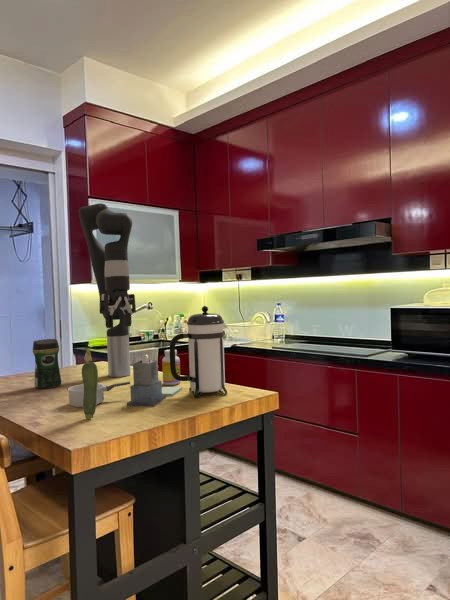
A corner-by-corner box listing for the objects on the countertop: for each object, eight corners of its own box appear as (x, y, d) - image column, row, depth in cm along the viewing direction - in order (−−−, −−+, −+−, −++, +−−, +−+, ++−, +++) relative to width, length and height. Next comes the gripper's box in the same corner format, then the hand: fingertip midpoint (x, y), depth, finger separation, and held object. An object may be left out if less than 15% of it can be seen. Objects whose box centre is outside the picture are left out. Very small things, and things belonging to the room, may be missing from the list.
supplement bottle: (173, 386, 163) (172, 351, 163) (159, 384, 167) (158, 351, 166) (183, 382, 169) (182, 349, 169) (170, 381, 172) (168, 348, 172)
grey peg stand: (140, 397, 148) (139, 353, 147) (166, 397, 146) (164, 352, 145) (126, 406, 137) (124, 358, 136) (153, 406, 135) (151, 358, 135)
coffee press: (201, 386, 161) (198, 305, 161) (238, 390, 152) (234, 304, 151) (169, 396, 147) (166, 307, 146) (207, 402, 138) (204, 307, 137)
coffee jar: (59, 383, 176) (57, 337, 176) (62, 386, 169) (60, 338, 169) (33, 386, 171) (30, 339, 171) (35, 390, 164) (33, 341, 164)
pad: (155, 388, 160) (155, 386, 160) (181, 389, 158) (181, 387, 158) (145, 395, 150) (145, 393, 150) (172, 396, 148) (172, 393, 148)
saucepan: (134, 401, 142) (134, 384, 142) (69, 411, 134) (69, 392, 134) (126, 394, 153) (126, 378, 153) (66, 402, 144) (65, 386, 144)
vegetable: (85, 416, 127) (82, 347, 126) (100, 415, 127) (98, 347, 127) (81, 421, 122) (79, 349, 122) (97, 420, 123) (94, 349, 122)
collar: (141, 381, 145) (140, 360, 145) (158, 381, 143) (157, 360, 143) (133, 385, 139) (132, 363, 139) (151, 385, 138) (150, 363, 137)
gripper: (122, 277, 146) (124, 325, 146) (91, 275, 133) (93, 328, 133) (140, 275, 143) (142, 325, 142) (110, 273, 130) (112, 328, 130)
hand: (119, 327), depth 138 cm, fingers open, 8 cm apart
